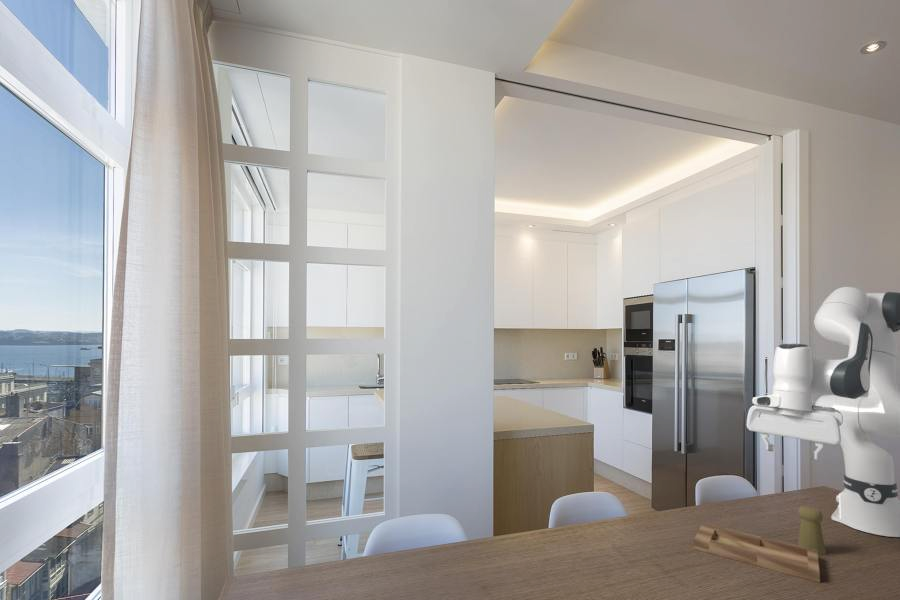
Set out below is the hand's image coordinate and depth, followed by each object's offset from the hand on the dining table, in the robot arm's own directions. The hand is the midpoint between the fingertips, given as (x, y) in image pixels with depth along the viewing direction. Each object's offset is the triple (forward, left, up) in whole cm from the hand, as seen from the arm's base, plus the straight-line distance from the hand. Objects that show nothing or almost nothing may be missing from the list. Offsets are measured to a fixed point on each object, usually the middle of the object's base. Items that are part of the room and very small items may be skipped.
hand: (791, 455), depth 120 cm
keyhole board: (+7, -8, -25) cm, 28 cm away
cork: (-6, +4, -26) cm, 26 cm away
